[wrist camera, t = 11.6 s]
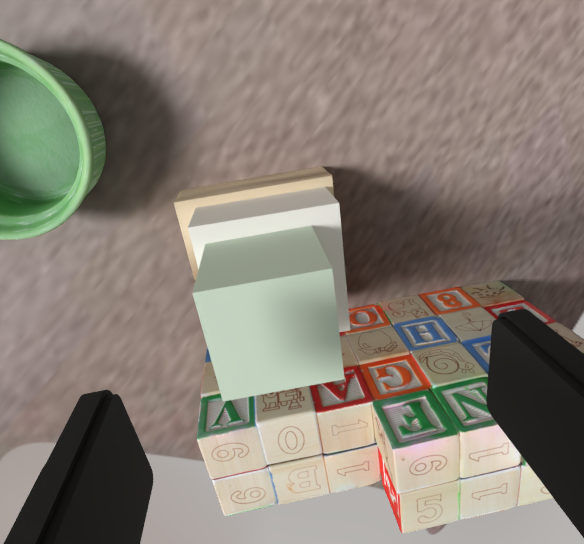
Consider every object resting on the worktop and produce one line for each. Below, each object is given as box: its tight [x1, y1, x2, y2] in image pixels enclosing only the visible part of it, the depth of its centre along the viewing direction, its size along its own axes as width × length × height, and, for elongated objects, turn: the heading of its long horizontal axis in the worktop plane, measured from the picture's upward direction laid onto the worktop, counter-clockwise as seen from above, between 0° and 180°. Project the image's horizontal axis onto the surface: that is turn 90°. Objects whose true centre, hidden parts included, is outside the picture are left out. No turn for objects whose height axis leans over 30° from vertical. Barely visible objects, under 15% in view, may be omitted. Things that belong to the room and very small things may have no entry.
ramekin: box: [0, 39, 106, 240], centre depth 20 cm, size 9×9×4 cm
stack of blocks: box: [197, 281, 584, 533], centre depth 25 cm, size 21×6×12 cm, turn 99°
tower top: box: [188, 187, 350, 332], centre depth 22 cm, size 7×7×4 cm
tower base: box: [174, 166, 334, 281], centre depth 25 cm, size 8×8×4 cm
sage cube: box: [193, 226, 345, 402], centre depth 18 cm, size 5×5×5 cm
